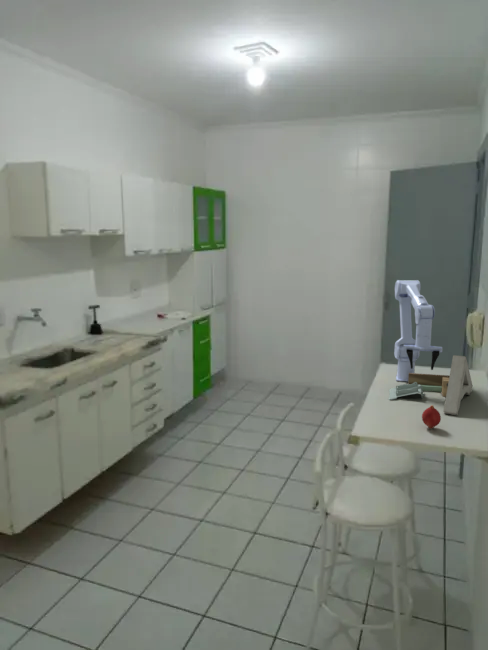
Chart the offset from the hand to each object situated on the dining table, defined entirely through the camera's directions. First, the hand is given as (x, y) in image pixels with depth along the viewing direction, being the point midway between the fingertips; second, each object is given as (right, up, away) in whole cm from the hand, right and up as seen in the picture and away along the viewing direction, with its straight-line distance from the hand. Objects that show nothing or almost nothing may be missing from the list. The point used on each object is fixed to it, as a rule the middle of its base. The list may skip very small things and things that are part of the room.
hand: (421, 368), depth 204 cm
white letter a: (+11, -12, -9) cm, 19 cm away
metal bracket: (-7, -11, -1) cm, 13 cm away
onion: (-10, -17, -37) cm, 41 cm away
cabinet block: (+10, -11, -1) cm, 15 cm away
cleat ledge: (+6, -9, +7) cm, 13 cm away
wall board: (+8, -8, +11) cm, 16 cm away
